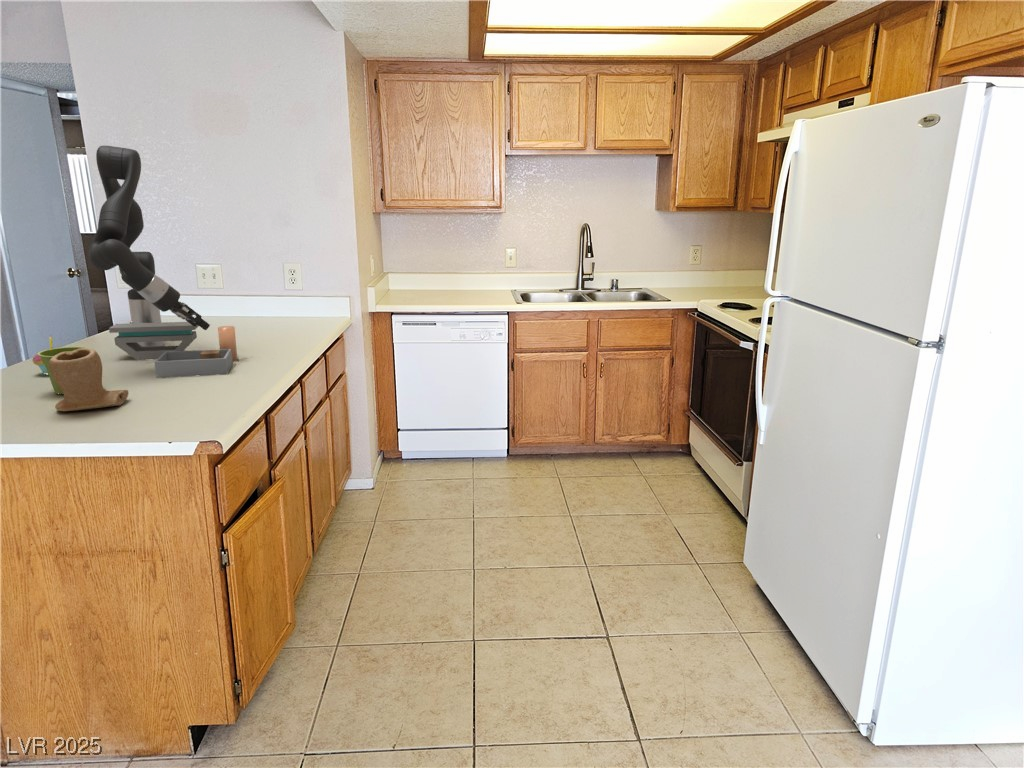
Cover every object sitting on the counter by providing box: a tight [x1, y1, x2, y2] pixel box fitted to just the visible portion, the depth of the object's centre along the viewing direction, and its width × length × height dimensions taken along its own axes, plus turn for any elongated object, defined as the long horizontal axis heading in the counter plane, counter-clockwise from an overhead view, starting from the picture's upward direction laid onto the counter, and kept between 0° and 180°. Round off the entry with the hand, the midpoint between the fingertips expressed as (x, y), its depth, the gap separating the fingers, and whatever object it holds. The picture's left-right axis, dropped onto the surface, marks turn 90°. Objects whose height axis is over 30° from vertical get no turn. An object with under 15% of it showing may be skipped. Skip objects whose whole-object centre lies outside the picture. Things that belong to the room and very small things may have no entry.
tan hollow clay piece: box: [49, 347, 129, 412], centre depth 160 cm, size 15×12×15 cm
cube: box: [200, 349, 221, 359], centre depth 200 cm, size 5×5×5 cm
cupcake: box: [31, 334, 54, 374], centre depth 192 cm, size 9×8×12 cm
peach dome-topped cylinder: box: [217, 325, 238, 362], centre depth 212 cm, size 5×5×11 cm
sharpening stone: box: [108, 321, 199, 361], centre depth 216 cm, size 25×8×11 cm, turn 105°
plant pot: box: [37, 346, 91, 395], centre depth 174 cm, size 12×12×11 cm
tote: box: [154, 348, 233, 379], centre depth 199 cm, size 19×14×5 cm
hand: (202, 326), depth 205 cm, fingers open, 8 cm apart
